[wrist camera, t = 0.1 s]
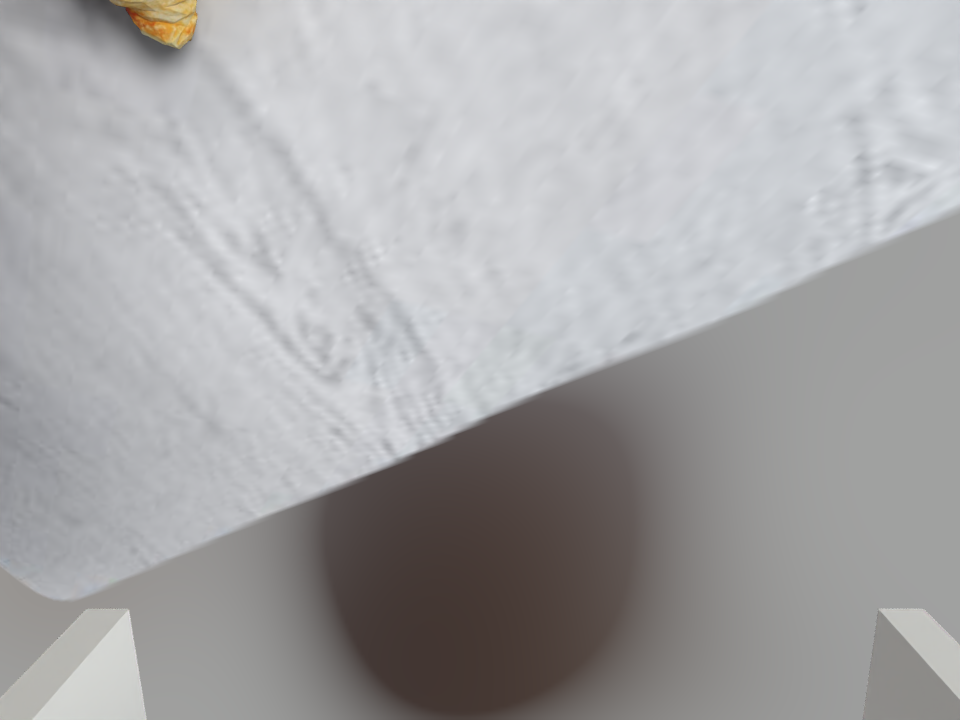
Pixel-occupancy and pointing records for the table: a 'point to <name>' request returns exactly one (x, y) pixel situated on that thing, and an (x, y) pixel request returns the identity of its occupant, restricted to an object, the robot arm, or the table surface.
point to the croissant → (163, 19)
